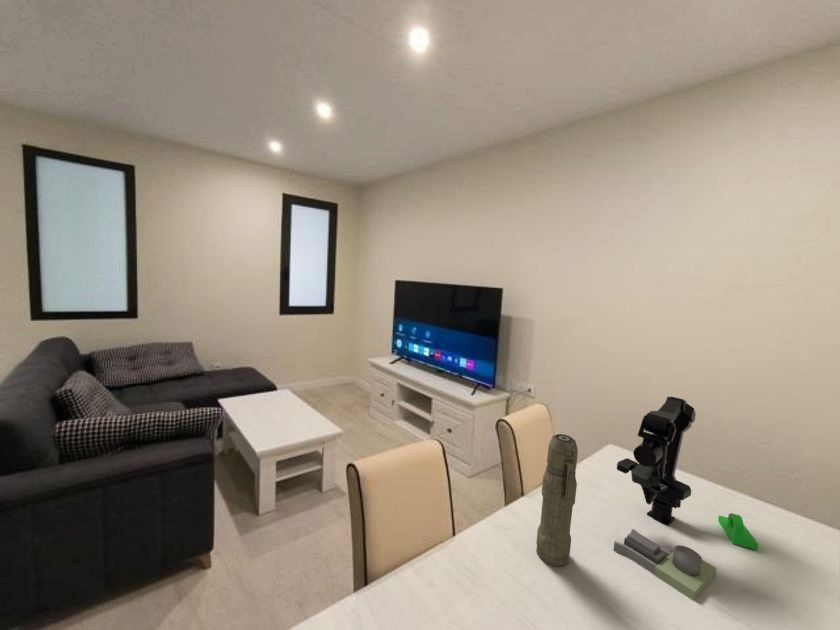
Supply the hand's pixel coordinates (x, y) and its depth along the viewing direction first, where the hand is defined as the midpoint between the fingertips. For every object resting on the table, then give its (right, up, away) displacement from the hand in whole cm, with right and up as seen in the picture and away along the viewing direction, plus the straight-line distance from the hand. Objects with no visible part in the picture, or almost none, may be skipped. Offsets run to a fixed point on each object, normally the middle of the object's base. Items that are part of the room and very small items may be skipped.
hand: (648, 503), depth 109 cm
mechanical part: (+33, -14, +6) cm, 36 cm away
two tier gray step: (-6, -12, -7) cm, 15 cm away
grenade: (-33, -11, -8) cm, 36 cm away
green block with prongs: (-2, -12, -8) cm, 15 cm away
